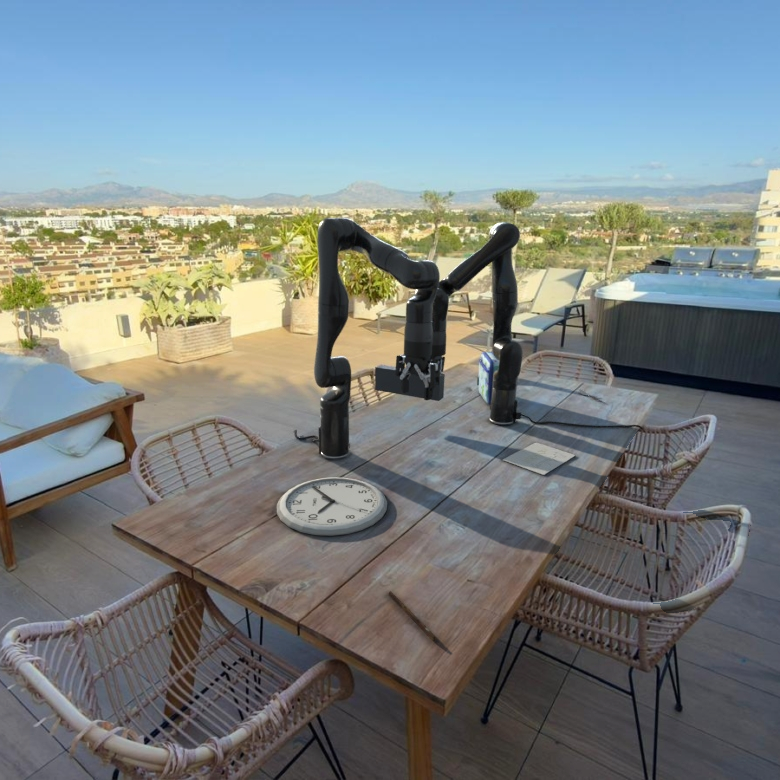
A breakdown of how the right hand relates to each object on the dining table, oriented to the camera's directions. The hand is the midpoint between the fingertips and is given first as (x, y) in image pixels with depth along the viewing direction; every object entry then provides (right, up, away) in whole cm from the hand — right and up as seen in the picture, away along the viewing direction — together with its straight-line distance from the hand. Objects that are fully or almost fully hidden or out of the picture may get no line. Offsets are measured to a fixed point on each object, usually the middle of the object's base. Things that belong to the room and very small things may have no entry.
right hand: (434, 385), depth 199 cm
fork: (+75, -5, +39) cm, 85 cm away
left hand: (-10, -3, -55) cm, 56 cm away
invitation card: (+33, -25, -25) cm, 48 cm away
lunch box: (+29, -6, +35) cm, 45 cm away
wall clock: (-33, -33, -56) cm, 73 cm away
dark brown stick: (-13, -46, -97) cm, 108 cm away
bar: (-10, -3, +6) cm, 12 cm away
